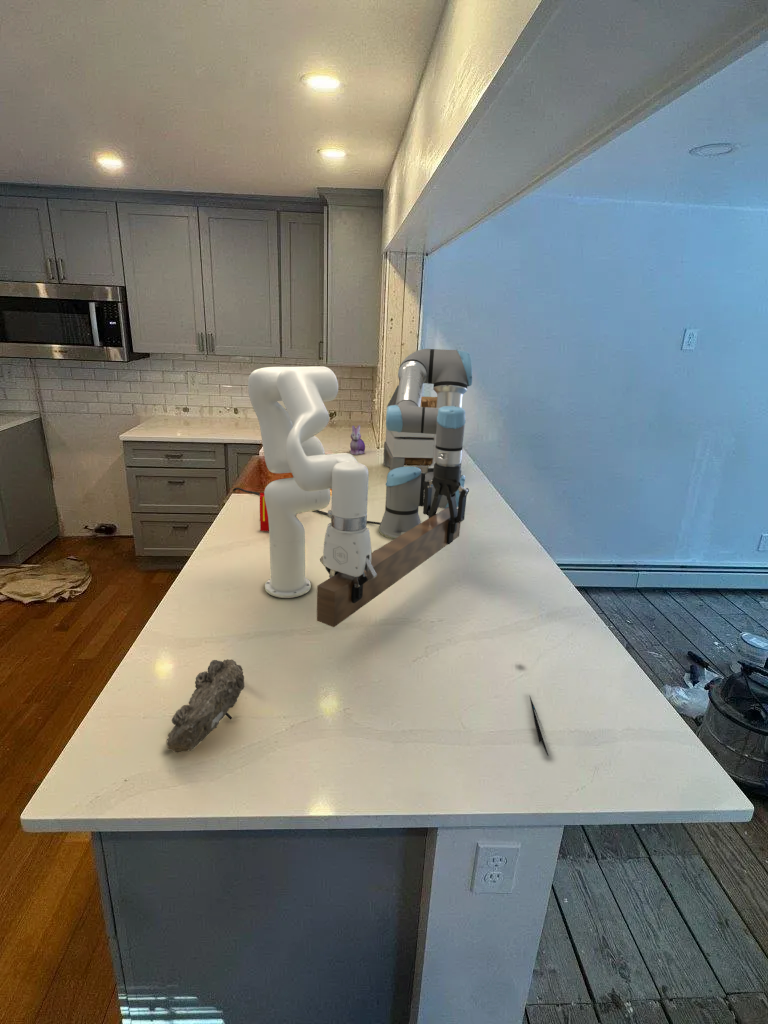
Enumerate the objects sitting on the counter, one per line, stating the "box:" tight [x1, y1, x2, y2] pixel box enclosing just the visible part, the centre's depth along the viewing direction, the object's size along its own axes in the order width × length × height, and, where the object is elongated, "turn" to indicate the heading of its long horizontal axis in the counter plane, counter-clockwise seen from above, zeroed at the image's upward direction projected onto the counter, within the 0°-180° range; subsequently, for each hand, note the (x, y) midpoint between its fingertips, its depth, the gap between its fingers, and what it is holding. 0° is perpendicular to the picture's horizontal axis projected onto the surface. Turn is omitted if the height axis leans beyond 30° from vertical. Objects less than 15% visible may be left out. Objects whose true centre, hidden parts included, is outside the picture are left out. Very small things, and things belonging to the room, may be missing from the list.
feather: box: [529, 696, 549, 756], centre depth 114 cm, size 2×28×2 cm
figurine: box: [349, 424, 366, 455], centre depth 305 cm, size 9×10×15 cm
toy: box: [259, 492, 269, 532], centre depth 208 cm, size 12×13×30 cm
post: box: [316, 507, 462, 628], centre depth 145 cm, size 64×5×8 cm, turn 148°
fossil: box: [166, 658, 245, 754], centre depth 106 cm, size 22×10×15 cm
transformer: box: [383, 384, 462, 472], centre depth 268 cm, size 34×33×41 cm
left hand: (346, 596), depth 126 cm, fingers closed on post, 4 cm apart
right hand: (441, 540), depth 166 cm, fingers closed on post, 5 cm apart
